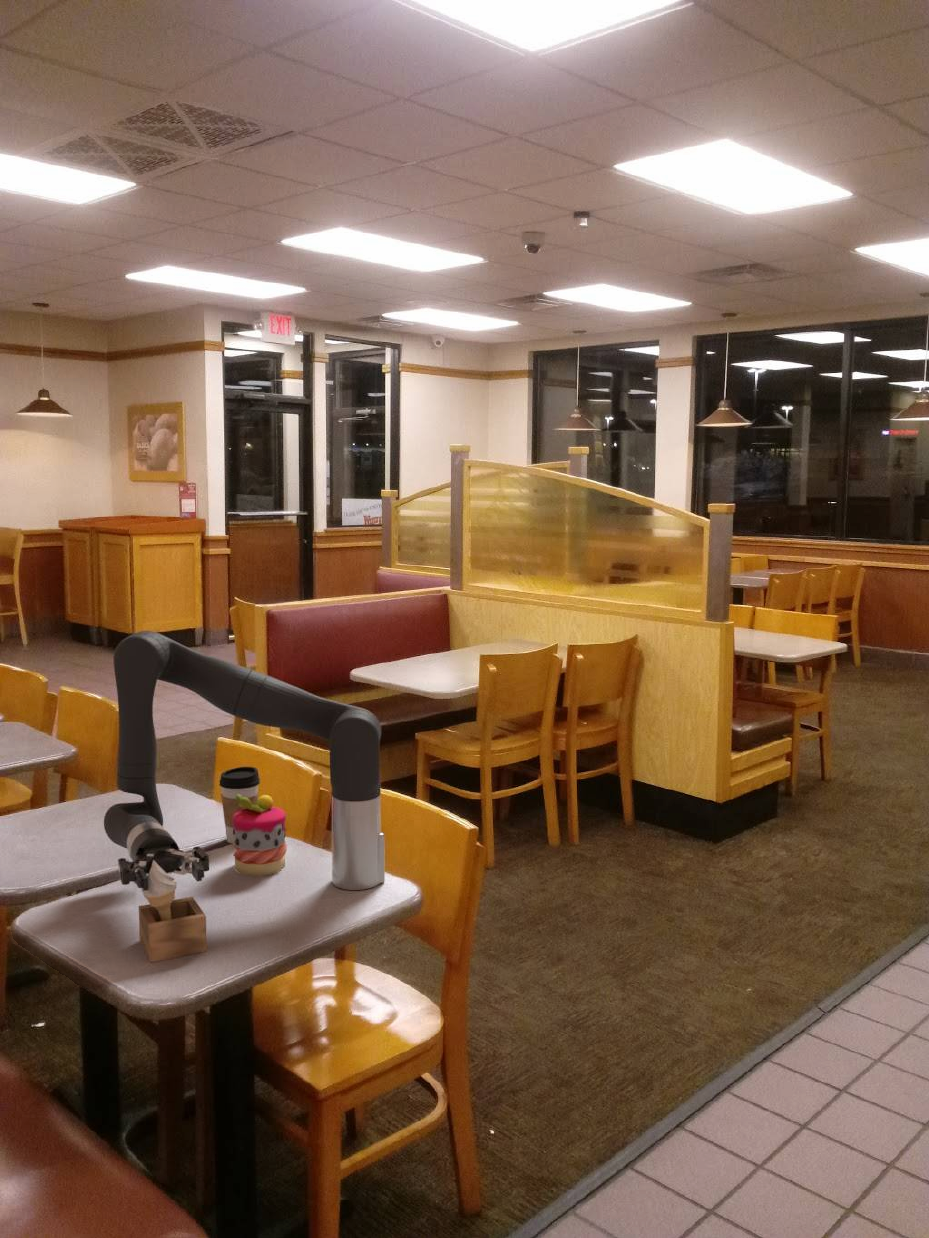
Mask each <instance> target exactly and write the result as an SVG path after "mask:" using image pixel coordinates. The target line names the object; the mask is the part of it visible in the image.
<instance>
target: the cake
mask: <svg viewBox="0 0 929 1238" xmlns="http://www.w3.org/2000/svg"><path fill="white" fill-rule="evenodd" d="M236 799H237V801H238V802H239V803H240V804H239V807H242V808H244V809H241V810H239V811H237V812H236V813H235V814H234V816H233V825H234V828H233V834H234V837H235V844H232V845H233V848H234V849H235V851H234V853H233V854H232V855H233V857H234V870H235V869H236V870H237V871H238V872H237V871H236V870H235V871H236V872H237V873H239V872H240V873H239V874H241V875H245V876H252V877H258V876H260V877H261V876H262V875H263V876H268V875H273V874H276V873H275V872H277V873H278V871H279V872H280V870H281V869H283V870H284V868H285V867H286V852H287V848H288V845H287V841H286V839H285V838H286V831H287V829H286V820H287V815H286V814H287V813H286V812H285V811H284V810H283V809H281V808H280V807H276V806H273V805H274V800H273V799H272V797H271V796H270V795H267V794H262V795H261V796H258V801H257V806H256V805H255V806H254V805H253V804H252V803H251V801H250V800H249V799H248V798H246V797H244V798H242V796H241V795H237V796H236ZM281 871H282V870H281Z"/></svg>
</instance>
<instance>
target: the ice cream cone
mask: <svg viewBox="0 0 929 1238" xmlns="http://www.w3.org/2000/svg"><path fill="white" fill-rule="evenodd" d="M147 877H148V890H145V891H143V889H142V888H141V891H142V895H143V897H144V898H145V899H146V900H147V901H148V903H149V904H150V905H151V906H153V907H155V908H156V909H157V910H158V912H159V915H160V918H161V921H166V920H171V919H172V918H171V910H170V905H171V903H172V901H173V900H175V899H176V898H175V897H176V896H175V893H176V889H177V881H175V878H174V877H173V876H172V875H171V874H169V873H168V874H167V873H166V872H165V871H164V870H163V869H162V868H161V867H160V866H159V865H158V864H157V863H156V862H155V861H154V860H153V863H152V867H151V869H150V872H149V874H148V876H147Z"/></svg>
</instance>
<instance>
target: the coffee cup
mask: <svg viewBox="0 0 929 1238" xmlns="http://www.w3.org/2000/svg"><path fill="white" fill-rule="evenodd" d="M260 783H261V780H260V775H259V770H258V769H257V768H256V767H253V766H239V767H234V768H231V769H227V770H225V771H222V773H221V774H220V778H219V784H218V785H219V786H220V787H221V802H222V804H221V805H222V810H223V811H222V812H223V820H224V827H225V835H226V836H225V837H226V842H227V843H229V844H232V845H234V844H235V837H234V834H233V828H234V825H233V816H234V814H235V813H236V812H237V811H239V810H241V809H244V808H242V807H239V804H240V803H239V802H238V801H237V799H236V796H237V795H241V796H242V798H244V797H246V798H248V799H249V800H250V801H251V803H252V804H253V805H254V806H255V805H256V806H258V805H257V801H258V799H259V791H258V790H259V789H258V788H259V785H260Z"/></svg>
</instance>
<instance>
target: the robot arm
mask: <svg viewBox="0 0 929 1238" xmlns="http://www.w3.org/2000/svg"><path fill="white" fill-rule="evenodd" d="M112 659H113V668H114V678H115V684H116V685H115V686H116V693H117V694H116V695H117V704H118V745H117V746H118V747H117V748H118V749H117V763H116V765H117V767H116V787H117V789H118V790H119V791H121V792H124V793H127V794H133V795H138V796H141V797H142V799H143V801H137V802H136V801H135V802H120V803H115V804H113V805H112V806H110V807H109V808H108V809H107V810H106V813H105V815H104V817H103V829H104V831H105V834H106V836H107V837H108V839H109V840H110V841H111V842H113V843H114V844H116V845H118V846H119V847H122V848H124V849H127V852H128V856H129V858H130V859H131V860H132V861H130V860H129V859H127V858H124V857H123V858H122V857H120V858H119V859H117V860H118V861H117V862H118V863H117V866H118V868H117V869H118V871H117V872H118V876H119V880H120V882H121V885H124V886H127V885H130V883H132V882H133V883H134V885H136V886H137V888H139V889H141V890H142V889H143V891H145V890H148V877H147V876H148V874H149V872H150V869H151V867H152V863H153V860H154V861H155V862H156V863H157V864H158V865H159V866H160V867H161V868H162V869H163V870H164V871H165V872H166V873H167V874H169V875H171V874H173V873H174V874H178V875H181V876H185V875H186V874H190V875H192V877H193V878H194V879H195V881H196V882H202V880H203V878H205V872H208V871H210V855H209V854H208V853H207V852H206V851H204V849H202V847H200V846H194V847H193V848H192V851H190V852H185V851H184V850H181V849H180V847H179V846H178V843H177V842H176V841H175V839H174V838H173V836H172V835H171V834H170V833H169V831H168V830H167V829H166V828H165V827H164V816H163V812H162V809H161V805H160V801H159V797H158V791H157V783H156V780H157V779H156V777H157V775H156V774H157V758H158V756H157V755H158V749H157V748H158V747H157V746H158V745H157V743H158V742H157V736H156V729H155V723H154V712H153V711H154V710H153V706H154V696H155V690H156V687H157V682H158V681H162V682H166V683H169V684H173V685H175V686H179V687H182V688H184V689H187V690H189V691H190V692H191V691H192V692H193V693H195V694H197V695H198V696H200V697H201V698H203V699H204V700H205V701H206V702H208V703H210V704H211V705H212V706H214V707H216V708H218V709H219V710H221V711H222V712H224V713H227V714H229V715H231V716H233V717H236V718H239V719H242V720H245V721H247V722H250V723H253V724H257V725H260V726H265V727H271V728H279V729H286V730H287V729H289V730H290V729H291V730H296V731H301V732H306V733H308V734H311V735H314V736H316V737H318V738H321V739H323V740H326V741H328V742H329V779H330V784H331V848H332V849H331V860H332V861H331V869H332V870H331V877H332V881H331V882H332V884H333V885H334V886H335V887H337V888H339V889H343V890H349V891H361V890H367V889H371V888H374V887H376V886H378V885H379V884H381V883H385V879H386V878H385V874H386V873H385V871H386V870H385V869H386V868H385V867H386V866H385V863H386V862H385V861H386V860H385V859H386V858H385V857H386V855H385V845H386V844H385V843H386V842H385V840H386V839H385V838H386V836H385V834H384V833H383V832H382V830H381V827H382V826H381V821H382V820H381V790H382V789H381V785H382V784H381V782H382V781H381V773H380V771H381V770H380V766H381V764H380V760H381V758H380V755H381V753H380V751H381V750H380V746H381V745H380V743H381V742H380V741H381V738H382V726H381V722H380V721H379V719H378V717H377V716H376V715H375V714H374V713H372V712H371V711H370V710H368V709H365V708H363V707H359V706H355V705H351V704H347V703H343V702H339V701H335V700H331V699H328V698H324V697H321V696H318V695H315V694H314V693H310V692H309V691H305V690H304V689H302V688H300V687H297V686H294V685H292V684H289V683H287V682H285V681H283V680H281V679H277V678H275V677H273V676H271V675H267V674H264V673H262V672H259V671H258V670H257V671H256V670H254V669H252V668H248V667H245V666H242V665H239V664H236V663H234V662H229V661H227V660H224V659H220V658H216V657H213V656H209V655H206V654H204V653H200V652H198V651H196V650H194V649H192V648H190V647H188V646H185V645H183V644H181V643H179V642H177V641H175V640H173V639H172V638H170V637H167V636H166V635H163V634H161V633H159V632H155V631H153V630H152V631H151V630H141V631H138V632H134V633H133V634H131V635H129V636H126V637H125V638H124V639H122V640H121V641H120V642H119V643H117V646H116V648H115V649H114V652H113V658H112ZM190 865H191V866H190Z"/></svg>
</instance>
